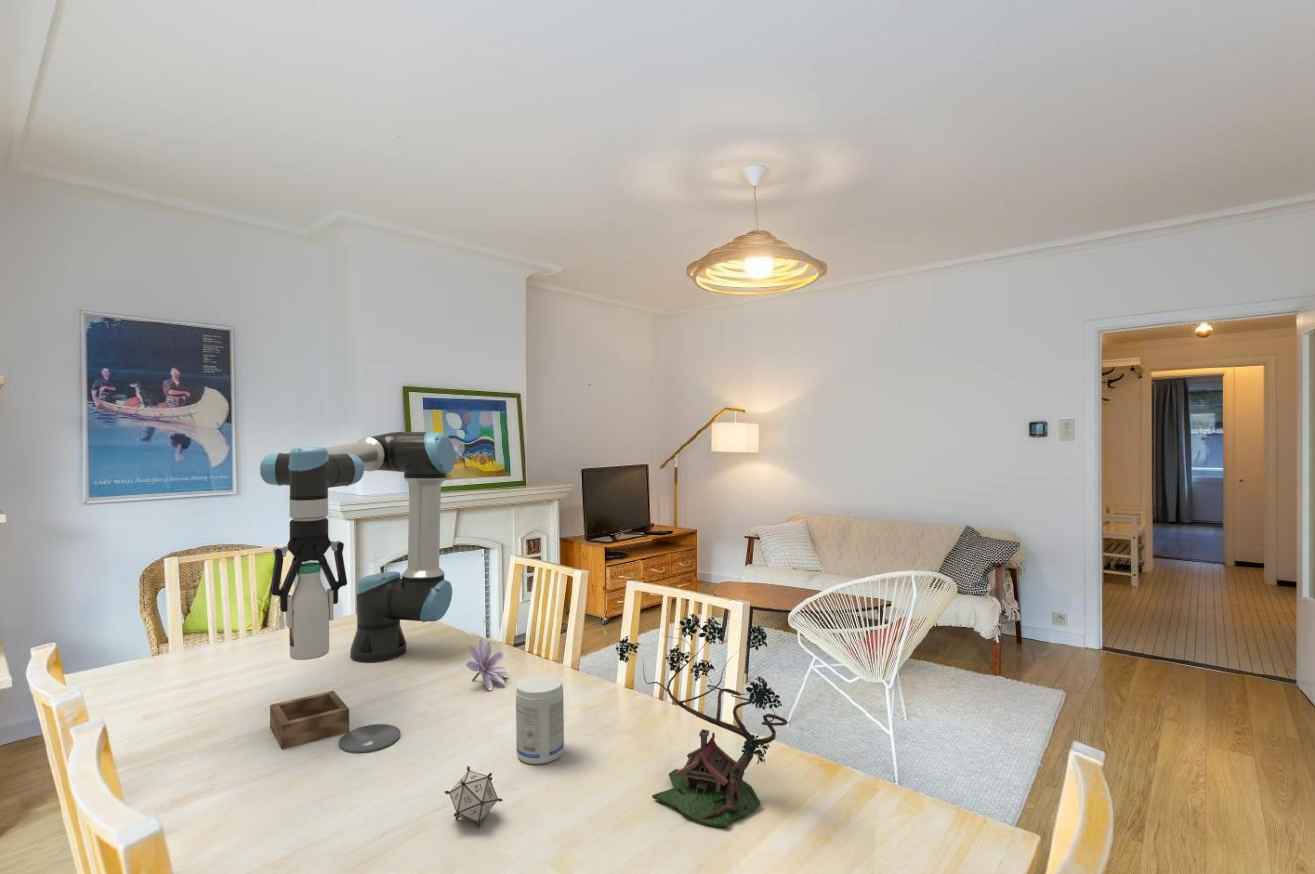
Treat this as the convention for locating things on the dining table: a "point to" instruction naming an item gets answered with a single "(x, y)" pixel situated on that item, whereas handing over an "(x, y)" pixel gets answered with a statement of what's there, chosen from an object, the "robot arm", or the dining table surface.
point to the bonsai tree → (710, 773)
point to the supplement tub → (539, 719)
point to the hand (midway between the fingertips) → (309, 622)
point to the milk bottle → (309, 615)
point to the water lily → (487, 664)
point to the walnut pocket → (308, 719)
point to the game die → (473, 796)
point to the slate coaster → (369, 738)
